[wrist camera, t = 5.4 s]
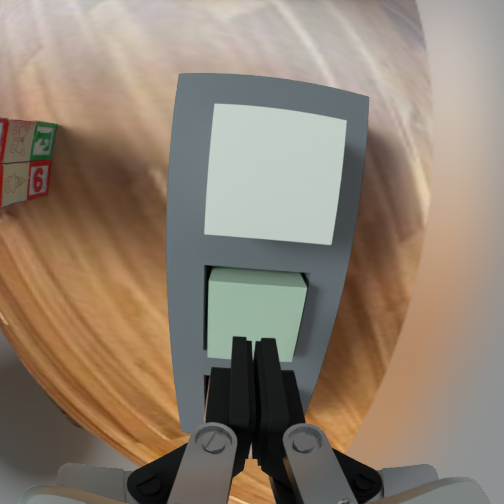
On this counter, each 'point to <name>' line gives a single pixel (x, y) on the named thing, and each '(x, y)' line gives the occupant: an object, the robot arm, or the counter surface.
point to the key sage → (254, 309)
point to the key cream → (273, 174)
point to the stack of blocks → (24, 159)
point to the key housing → (250, 249)
